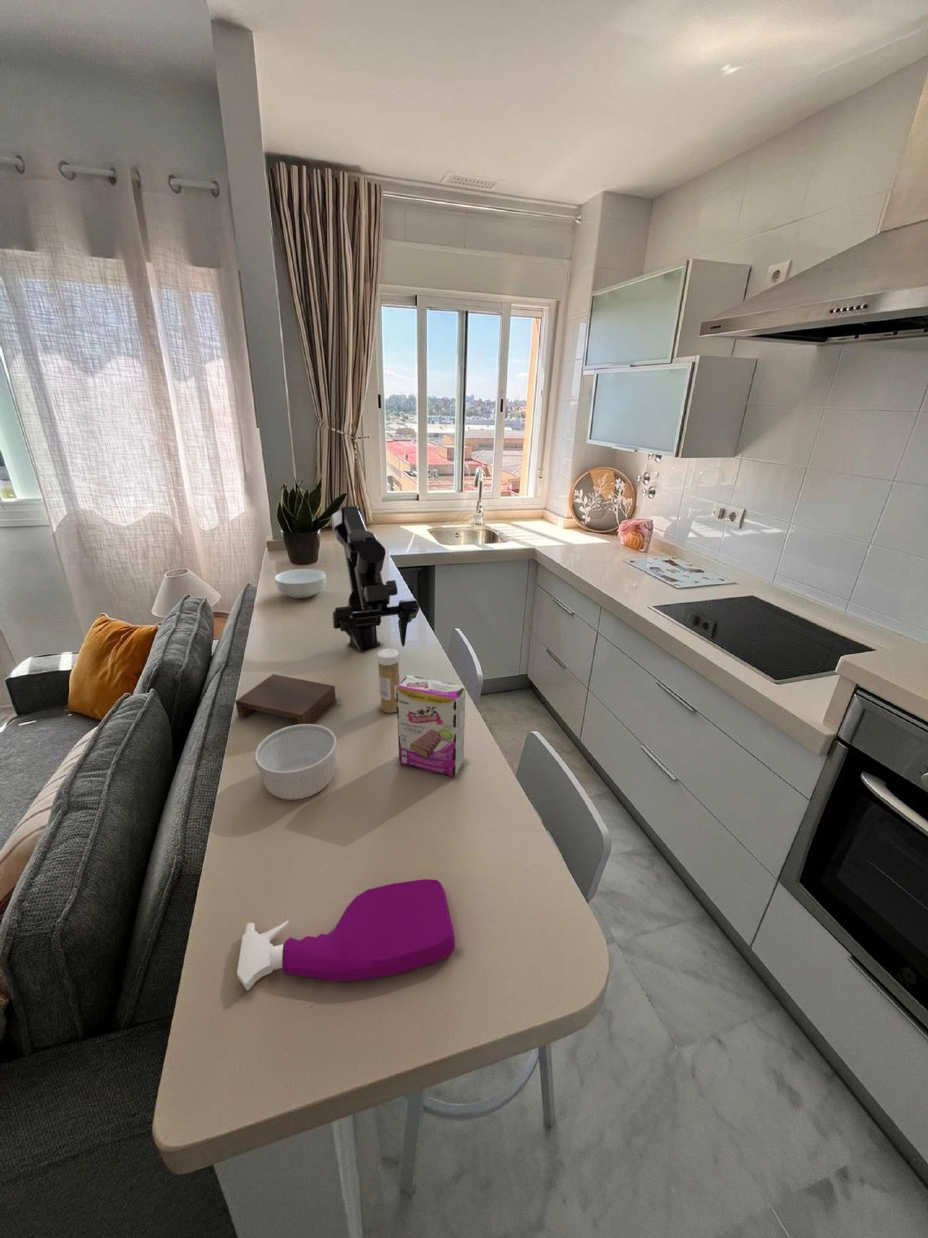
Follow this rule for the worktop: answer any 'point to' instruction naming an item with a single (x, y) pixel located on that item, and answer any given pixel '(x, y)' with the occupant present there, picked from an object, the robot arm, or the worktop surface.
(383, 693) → the sprinkles bottle
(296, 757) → the ramekin
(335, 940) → the spray bottle
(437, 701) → the candy bar box
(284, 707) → the shelf
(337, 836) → the worktop surface
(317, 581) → the cereal bowl
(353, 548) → the robot arm
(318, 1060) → the worktop surface
